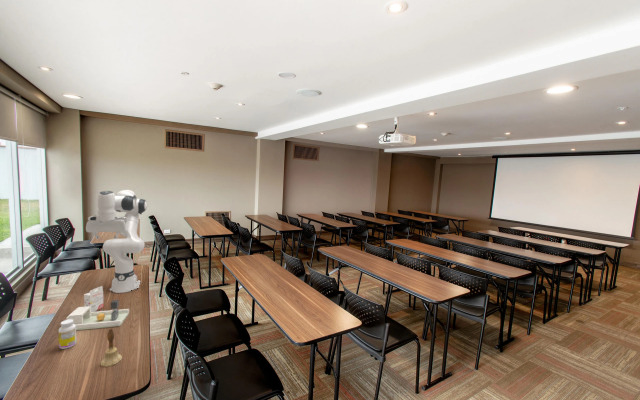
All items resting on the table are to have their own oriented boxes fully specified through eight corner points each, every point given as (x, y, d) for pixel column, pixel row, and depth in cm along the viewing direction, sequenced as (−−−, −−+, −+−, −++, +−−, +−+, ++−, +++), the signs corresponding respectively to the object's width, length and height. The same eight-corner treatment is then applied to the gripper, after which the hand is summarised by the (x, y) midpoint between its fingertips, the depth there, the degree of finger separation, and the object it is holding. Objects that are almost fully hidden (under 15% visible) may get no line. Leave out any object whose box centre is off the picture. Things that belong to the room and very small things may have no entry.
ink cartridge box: (97, 306, 179) (97, 284, 178) (103, 307, 178) (103, 285, 177) (83, 312, 171) (83, 289, 169) (90, 313, 170) (90, 290, 169)
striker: (113, 316, 166) (113, 299, 165) (119, 315, 167) (119, 299, 166) (110, 320, 161) (110, 303, 160) (116, 320, 162) (116, 302, 161)
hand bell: (97, 368, 124) (97, 335, 123) (103, 357, 132) (103, 325, 131) (119, 364, 128) (119, 332, 126) (124, 353, 135) (124, 323, 134)
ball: (98, 318, 163) (98, 312, 162) (106, 317, 164) (106, 311, 164) (95, 322, 159) (95, 315, 159) (103, 321, 160) (103, 314, 160)
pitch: (78, 317, 164) (78, 305, 164) (129, 313, 172) (128, 301, 172) (64, 331, 150) (64, 318, 149) (120, 325, 158) (119, 313, 158)
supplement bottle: (62, 342, 141) (61, 319, 140) (78, 340, 143) (78, 317, 142) (56, 350, 135) (55, 326, 133) (73, 348, 137) (72, 323, 136)
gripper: (127, 216, 178) (127, 236, 179) (88, 216, 170) (88, 238, 171) (125, 217, 172) (125, 239, 173) (84, 217, 164) (84, 240, 165)
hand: (106, 238), depth 172 cm, fingers open, 8 cm apart
